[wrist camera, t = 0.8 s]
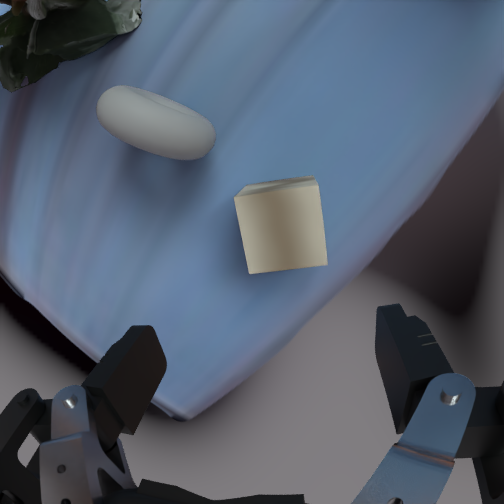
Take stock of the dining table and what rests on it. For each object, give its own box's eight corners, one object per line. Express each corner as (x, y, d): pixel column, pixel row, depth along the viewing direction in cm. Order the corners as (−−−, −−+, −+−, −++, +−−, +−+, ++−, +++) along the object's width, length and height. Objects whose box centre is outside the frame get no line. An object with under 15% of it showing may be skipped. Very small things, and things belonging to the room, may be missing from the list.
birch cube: (312, 175, 26) (318, 185, 20) (321, 239, 28) (327, 264, 22) (246, 184, 27) (233, 197, 21) (258, 247, 29) (249, 274, 23)
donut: (131, 118, 25) (64, 117, 16) (146, 87, 24) (82, 72, 15) (216, 163, 26) (175, 177, 17) (235, 129, 25) (201, 124, 16)
